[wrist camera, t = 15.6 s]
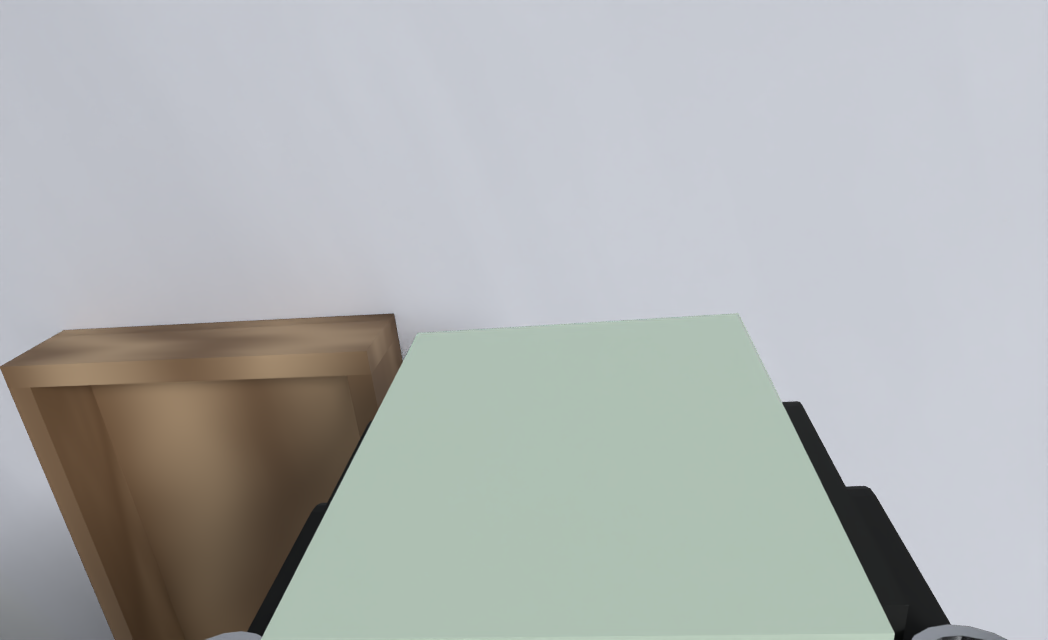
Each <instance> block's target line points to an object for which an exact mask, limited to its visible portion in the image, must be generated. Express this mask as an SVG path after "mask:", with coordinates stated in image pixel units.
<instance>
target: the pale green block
mask: <svg viewBox="0 0 1048 640" xmlns="http://www.w3.org/2000/svg"><path fill="white" fill-rule="evenodd" d="M894 635H895V633H894V631H893V629H892V627H891V625H890V623H889V621H888V619H887V616H886V614H885V612H884V610H883V608H882V606H881V604H880V602H879V600H878V598H877V596H876V594H875V592H874V590H873V588H872V586H871V584H870V582H869V580H868V578H867V576H866V574H865V571H864V569H863V567H862V565H861V563H860V561H859V559H858V557H857V555H856V553H855V551H854V549H853V547H852V545H851V543H850V541H849V539H848V537H847V535H846V533H845V531H844V529H843V526H842V524H841V522H840V520H839V518H838V516H837V514H836V512H835V510H834V508H833V506H832V504H831V502H830V500H829V498H828V496H827V494H826V492H825V490H824V488H823V486H822V483H821V481H820V479H819V477H818V475H817V473H816V471H815V469H814V467H813V465H812V463H811V461H810V459H809V457H808V455H807V453H806V451H805V449H804V447H803V445H802V443H801V441H800V438H799V436H798V434H797V432H796V430H795V428H794V426H793V424H792V422H791V420H790V418H789V416H788V414H787V412H786V410H785V408H784V406H783V404H782V402H781V400H780V398H779V396H778V393H777V391H776V389H775V387H774V385H773V383H772V381H771V379H770V377H769V375H768V373H767V371H766V369H765V367H764V365H763V363H762V361H761V359H760V357H759V355H758V353H757V350H756V348H755V346H754V344H753V342H752V340H751V338H750V336H749V334H748V332H747V330H746V328H745V326H744V324H743V322H742V320H741V318H740V316H739V314H738V313H737V314H720V315H704V316H688V317H671V318H655V319H639V320H623V321H606V322H590V323H574V324H557V325H541V326H525V327H509V328H492V329H476V330H460V331H443V332H427V333H417V335H416V337H415V339H414V341H413V343H412V345H411V347H410V349H409V351H408V353H407V355H406V357H405V359H404V361H403V362H402V364H401V366H400V368H399V370H398V372H397V374H396V376H395V378H394V380H393V382H392V384H391V386H390V388H389V390H388V392H387V394H386V396H385V398H384V400H383V402H382V404H381V406H380V407H379V409H378V411H377V413H376V415H375V417H374V419H373V421H372V423H371V425H370V427H369V429H368V431H367V433H366V435H365V437H364V439H363V441H362V443H361V445H360V447H359V449H358V451H357V452H356V454H355V456H354V458H353V460H352V462H351V464H350V466H349V468H348V470H347V472H346V474H345V476H344V478H343V480H342V482H341V484H340V486H339V488H338V490H337V492H336V494H335V496H334V497H333V499H332V501H331V503H330V505H329V507H328V509H327V511H326V513H325V515H324V517H323V519H322V521H321V523H320V525H319V527H318V529H317V531H316V533H315V535H314V537H313V539H312V540H311V542H310V544H309V546H308V548H307V550H306V552H305V554H304V556H303V558H302V560H301V562H300V564H299V566H298V568H297V570H296V572H295V574H294V576H293V578H292V580H291V582H290V584H289V585H288V587H287V589H286V591H285V593H284V595H283V597H282V599H281V601H280V603H279V605H278V607H277V609H276V611H275V613H274V615H273V617H272V619H271V621H270V623H269V625H268V627H267V629H266V630H265V632H264V634H263V636H262V638H261V640H894Z"/></svg>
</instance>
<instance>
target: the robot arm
mask: <svg viewBox="0 0 1048 640" xmlns="http://www.w3.org/2000/svg"><path fill="white" fill-rule="evenodd" d="M782 404H783V406H784V408H785V410H786V412H787V414H788V416H789V418H790V420H791V422H792V424H793V426H794V428H795V430H796V432H797V434H798V436H799V438H800V441H801V443H802V445H803V447H804V449H805V451H806V453H807V455H808V457H809V459H810V461H811V463H812V465H813V467H814V469H815V471H816V473H817V475H818V477H819V479H820V481H821V483H822V486H823V488H824V490H825V492H826V494H827V496H828V498H829V500H830V502H831V504H832V506H833V508H834V510H835V512H836V514H837V516H838V518H839V520H840V522H841V524H842V526H843V529H844V531H845V533H846V535H847V537H848V539H849V541H850V543H851V545H852V547H853V549H854V551H855V553H856V555H857V557H858V559H859V561H860V563H861V565H862V567H863V569H864V571H865V574H866V576H867V578H868V580H869V582H870V584H871V586H872V588H873V590H874V592H875V594H876V596H877V598H878V600H879V602H880V604H881V606H882V608H883V610H884V612H885V614H886V616H887V619H888V621H889V623H890V625H891V627H892V629H893V631H894V633H895V635H894V640H1007V639H1005V638H1003V637H1001V636H999V635H997V634H995V633H992V632H988V631H985V630H981V629H978V628H974V627H971V626H960V625H951V624H950V622H949V620H948V619H947V617H946V615H945V614H944V612H943V610H942V608H941V607H940V605H939V603H938V602H937V600H936V598H935V597H934V595H933V593H932V591H931V590H930V588H929V586H928V585H927V583H926V581H925V579H924V578H923V576H922V574H921V573H920V571H919V569H918V567H917V566H916V564H915V562H914V561H913V559H912V557H911V555H910V554H909V552H908V550H907V549H906V547H905V545H904V543H903V542H902V540H901V538H900V537H899V535H898V533H897V531H896V530H895V528H894V526H893V525H892V523H891V521H890V519H889V518H888V516H887V514H886V513H885V511H884V509H883V507H882V506H881V504H880V502H879V501H878V499H877V497H876V495H875V494H874V493H873V492H872V490H871V489H870V488H868V487H866V486H850V487H846V486H845V485H844V483H843V481H842V479H841V477H840V475H839V473H838V471H837V470H836V468H835V466H834V464H833V462H832V460H831V458H830V456H829V455H828V453H827V451H826V449H825V447H824V445H823V443H822V441H821V439H820V438H819V436H818V434H817V432H816V430H815V428H814V426H813V424H812V423H811V421H810V419H809V417H808V415H807V413H806V411H805V409H804V408H803V406H802V404H801V403H800V402H798V401H796V402H782ZM372 421H373V420H372ZM372 421H370V422H369V423H368V424H367V426H366V428H365V430H364V432H363V434H362V436H361V438H360V440H359V442H358V444H357V446H356V448H355V450H354V452H353V454H352V456H351V457H350V459H349V461H348V463H347V465H346V467H345V469H344V471H343V473H342V475H341V477H340V479H339V481H338V483H337V485H336V487H335V489H334V490H333V492H332V494H331V496H330V498H329V500H328V502H327V503H320V504H318V505H316V506H315V508H314V509H313V510H312V512H311V513H310V515H309V517H308V519H307V521H306V523H305V524H304V526H303V528H302V530H301V532H300V534H299V536H298V537H297V539H296V541H295V543H294V545H293V547H292V549H291V551H290V552H289V554H288V556H287V558H286V560H285V562H284V564H283V565H282V567H281V569H280V571H279V573H278V575H277V577H276V578H275V580H274V582H273V584H272V586H271V588H270V590H269V591H268V593H267V595H266V597H265V599H264V601H263V603H262V605H261V606H260V608H259V610H258V612H257V614H256V616H255V618H254V619H253V621H252V623H251V625H250V627H249V629H248V631H247V632H243V631H239V632H230V633H223V634H220V635H217V636H214V637H211V638H208V639H205V640H261V638H262V636H263V634H264V632H265V630H266V629H267V627H268V625H269V623H270V621H271V619H272V617H273V615H274V613H275V611H276V609H277V607H278V605H279V603H280V601H281V599H282V597H283V595H284V593H285V591H286V589H287V587H288V585H289V584H290V582H291V580H292V578H293V576H294V574H295V572H296V570H297V568H298V566H299V564H300V562H301V560H302V558H303V556H304V554H305V552H306V550H307V548H308V546H309V544H310V542H311V540H312V539H313V537H314V535H315V533H316V531H317V529H318V527H319V525H320V523H321V521H322V519H323V517H324V515H325V513H326V511H327V509H328V507H329V505H330V503H331V501H332V499H333V497H334V496H335V494H336V492H337V490H338V488H339V486H340V484H341V482H342V480H343V478H344V476H345V474H346V472H347V470H348V468H349V466H350V464H351V462H352V460H353V458H354V456H355V454H356V452H357V451H358V449H359V447H360V445H361V443H362V441H363V439H364V437H365V435H366V433H367V431H368V429H369V427H370V425H371V423H372Z"/></svg>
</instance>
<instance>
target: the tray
mask: <svg viewBox="0 0 1048 640" xmlns="http://www.w3.org/2000/svg"><path fill="white" fill-rule="evenodd" d="M402 362H403V361H402V355H401V350H400V344H399V339H398V333H397V327H396V322H395V316H394V314H375V315H355V316H335V317H316V318H296V319H276V320H256V321H236V322H216V323H196V324H177V325H157V326H137V327H117V328H97V329H77V330H63V331H62V332H60V333H58V334H56V335H55V336H53V337H51V338H49V339H47V340H46V341H44V342H42V343H40V344H39V345H37V346H35V347H33V348H32V349H30V350H28V351H26V352H25V353H23V354H21V355H19V356H18V357H16V358H14V359H12V360H11V361H9V362H7V363H5V364H4V365H2V366H0V369H1V371H2V374H3V376H4V378H5V381H6V383H7V386H8V388H9V390H10V393H11V395H12V397H13V400H14V402H15V404H16V407H17V409H18V412H19V414H20V416H21V419H22V421H23V423H24V426H25V428H26V430H27V433H28V435H29V438H30V440H31V442H32V445H33V447H34V449H35V452H36V454H37V457H38V459H39V461H40V464H41V466H42V468H43V471H44V473H45V475H46V478H47V480H48V483H49V485H50V487H51V490H52V492H53V494H54V497H55V499H56V502H57V504H58V506H59V509H60V511H61V513H62V516H63V518H64V520H65V523H66V525H67V528H68V530H69V532H70V535H71V537H72V539H73V542H74V544H75V547H76V549H77V551H78V554H79V556H80V558H81V561H82V563H83V565H84V568H85V570H86V573H87V575H88V577H89V580H90V582H91V584H92V587H93V589H94V592H95V594H96V596H97V599H98V601H99V603H100V606H101V608H102V610H103V613H104V615H105V618H106V620H107V622H108V625H109V627H110V629H111V632H112V634H113V637H114V639H115V640H205V639H208V638H211V637H214V636H217V635H220V634H223V633H230V632H239V631H243V632H247V631H248V629H249V627H250V625H251V623H252V621H253V619H254V618H255V616H256V614H257V612H258V610H259V608H260V606H261V605H262V603H263V601H264V599H265V597H266V595H267V593H268V591H269V590H270V588H271V586H272V584H273V582H274V580H275V578H276V577H277V575H278V573H279V571H280V569H281V567H282V565H283V564H284V562H285V560H286V558H287V556H288V554H289V552H290V551H291V549H292V547H293V545H294V543H295V541H296V539H297V537H298V536H299V534H300V532H301V530H302V528H303V526H304V524H305V523H306V521H307V519H308V517H309V515H310V513H311V512H312V510H313V509H314V508H315V506H316V505H318V504H320V503H327V502H328V500H329V498H330V496H331V494H332V492H333V490H334V489H335V487H336V485H337V483H338V481H339V479H340V477H341V475H342V473H343V471H344V469H345V467H346V465H347V463H348V461H349V459H350V457H351V456H352V454H353V452H354V450H355V448H356V446H357V444H358V442H359V440H360V438H361V436H362V434H363V432H364V430H365V428H366V426H367V424H368V423H369V422H370V421H372V420H373V419H374V417H375V415H376V413H377V411H378V409H379V407H380V406H381V404H382V402H383V400H384V398H385V396H386V394H387V392H388V390H389V388H390V386H391V384H392V382H393V380H394V378H395V376H396V374H397V372H398V370H399V368H400V366H401V364H402Z"/></svg>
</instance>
